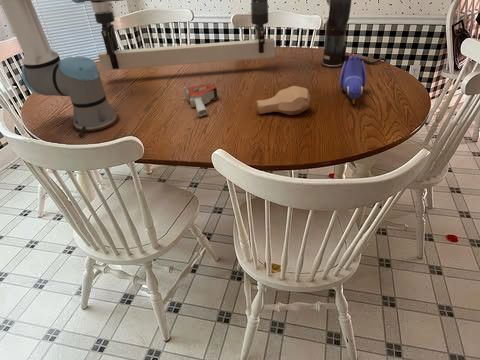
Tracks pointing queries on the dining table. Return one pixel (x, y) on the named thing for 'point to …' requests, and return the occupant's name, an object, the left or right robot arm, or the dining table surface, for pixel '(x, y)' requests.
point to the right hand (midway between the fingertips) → (260, 50)
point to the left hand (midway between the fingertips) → (117, 66)
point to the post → (188, 54)
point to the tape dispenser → (201, 97)
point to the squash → (286, 101)
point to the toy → (353, 77)
